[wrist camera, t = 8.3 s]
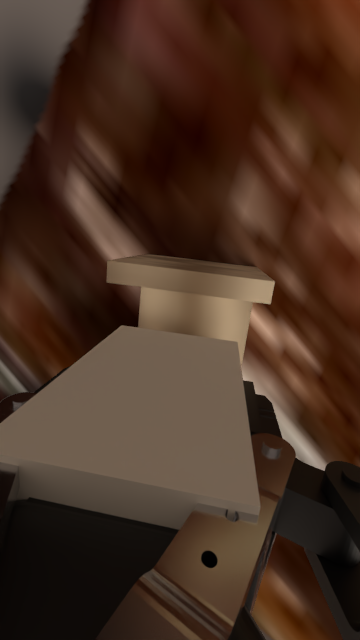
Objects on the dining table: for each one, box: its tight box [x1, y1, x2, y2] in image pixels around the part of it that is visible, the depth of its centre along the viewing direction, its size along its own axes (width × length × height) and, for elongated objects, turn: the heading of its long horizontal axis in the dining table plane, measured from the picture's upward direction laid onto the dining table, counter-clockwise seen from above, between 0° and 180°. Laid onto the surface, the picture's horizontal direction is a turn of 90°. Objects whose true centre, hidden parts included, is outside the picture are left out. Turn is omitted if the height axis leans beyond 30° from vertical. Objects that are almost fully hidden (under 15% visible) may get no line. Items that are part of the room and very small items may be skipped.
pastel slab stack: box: [107, 254, 275, 365], centre depth 24 cm, size 9×30×10 cm, turn 174°
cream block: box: [0, 325, 260, 530], centre depth 10 cm, size 4×6×9 cm
